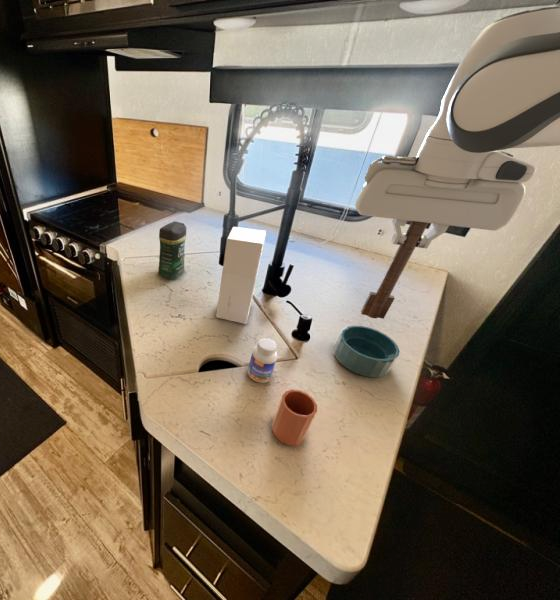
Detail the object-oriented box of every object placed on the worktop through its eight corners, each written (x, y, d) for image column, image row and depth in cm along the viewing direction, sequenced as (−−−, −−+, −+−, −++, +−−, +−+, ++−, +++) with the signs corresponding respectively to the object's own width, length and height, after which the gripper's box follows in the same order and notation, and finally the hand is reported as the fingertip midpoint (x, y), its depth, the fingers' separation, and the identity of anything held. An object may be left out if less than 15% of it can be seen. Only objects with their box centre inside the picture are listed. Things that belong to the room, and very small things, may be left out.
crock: (303, 423, 63) (316, 394, 58) (303, 450, 58) (317, 422, 53) (273, 413, 65) (283, 385, 60) (270, 439, 60) (281, 411, 55)
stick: (382, 314, 63) (432, 220, 52) (384, 320, 62) (437, 224, 50) (360, 309, 65) (404, 217, 53) (361, 316, 63) (408, 221, 51)
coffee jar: (174, 282, 107) (176, 232, 96) (155, 276, 111) (154, 226, 100) (187, 271, 114) (190, 222, 103) (169, 265, 117) (170, 217, 106)
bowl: (383, 349, 80) (393, 332, 77) (393, 384, 71) (405, 366, 68) (331, 338, 84) (339, 321, 81) (334, 370, 75) (343, 352, 71)
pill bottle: (247, 380, 72) (254, 350, 66) (247, 364, 76) (254, 334, 71) (271, 385, 71) (281, 355, 65) (270, 368, 75) (279, 338, 70)
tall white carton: (215, 317, 91) (226, 238, 77) (222, 301, 98) (232, 226, 84) (246, 324, 89) (263, 244, 74) (250, 307, 95) (266, 230, 81)
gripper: (376, 158, 46) (344, 243, 55) (553, 170, 41) (487, 263, 49) (369, 151, 51) (341, 229, 59) (526, 161, 46) (471, 246, 54)
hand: (408, 245), depth 54 cm, fingers closed on stick, 2 cm apart
